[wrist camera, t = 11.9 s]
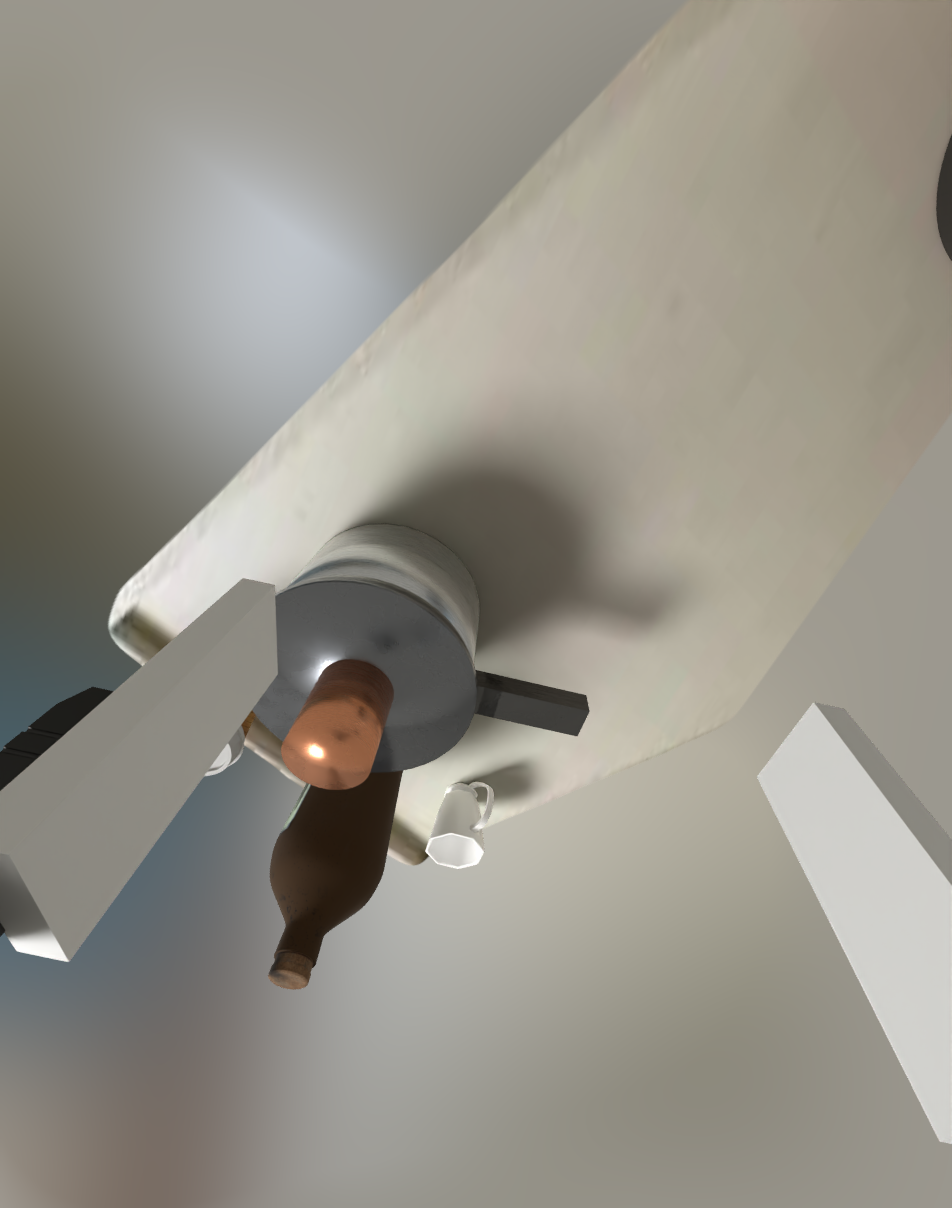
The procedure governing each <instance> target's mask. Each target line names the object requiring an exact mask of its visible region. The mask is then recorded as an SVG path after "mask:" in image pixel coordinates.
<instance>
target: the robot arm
mask: <svg viewBox="0 0 952 1208" xmlns="http://www.w3.org/2000/svg"><path fill="white" fill-rule="evenodd" d="M936 209H937V222H938V229H939V233H940V237H941V240H942V243H943V246H944V248H945V250H946V252H947V254H948V256H949V257H950V259H951V260H952V136H951V138H950V141H949V144H948V147H947V150H946V153H945V156H944V160H943V163H942V167H941V172H940V176H939V183H938V190H937V207H936ZM277 675H278V663H277V634H276V605H275V585H272V584H267V583H263V582H258V581H253V580H249V579H244V578H243V579H241V580H240V581H239V582H238V583H237V584H236V585H235V586H233V587H232V588H231V589H230V590H229V591H228V592H227V593H226V594H224V595H223V596H222V597H221V598H220V599H219V600H218V601H216V602H215V603H214V604H213V605H212V606H211V607H210V608H208V609H207V610H206V611H205V612H204V613H203V614H202V615H200V616H199V617H198V618H197V619H196V620H195V621H194V622H192V623H191V624H190V625H189V626H188V627H187V628H186V629H184V630H183V631H182V632H181V633H180V634H179V635H178V636H177V637H175V638H174V639H173V640H172V641H171V642H170V643H169V644H167V645H166V646H165V647H164V648H163V649H162V650H161V651H159V652H158V653H157V654H156V655H155V656H154V657H153V658H151V659H150V660H149V661H148V662H147V663H146V664H145V665H143V666H142V667H141V668H140V669H139V670H138V671H137V672H135V673H134V674H133V675H132V676H131V677H130V678H129V679H128V680H126V681H125V682H124V683H123V684H122V685H121V686H120V687H118V688H117V689H116V690H115V691H110V690H105V689H100V688H96V687H91V688H89V689H87V690H85V691H83V692H81V693H79V694H77V695H75V696H73V697H71V698H68V699H66V700H64V701H62V702H60V703H58V704H56V705H55V706H54V707H52V708H51V709H50V710H49V711H47V712H46V713H45V714H44V715H42V716H41V717H40V718H39V719H37V720H36V721H35V722H34V723H33V724H31V725H30V726H29V727H28V730H27V731H26V732H21V733H20V734H19V735H17V736H16V737H15V738H14V739H12V740H11V741H10V742H9V743H7V744H6V745H5V746H4V748H3V750H2V751H1V752H0V936H1V935H2V934H3V933H5V934H6V936H7V937H8V939H9V940H10V942H11V943H12V945H13V946H14V948H15V949H16V950H17V951H18V952H23V953H28V954H32V955H38V956H42V957H47V958H52V959H57V960H62V961H66V962H69V961H70V960H71V958H72V957H73V956H74V954H75V953H76V952H77V950H78V949H79V948H80V946H81V945H82V943H83V942H84V941H85V939H86V938H87V937H88V935H89V934H90V932H91V931H92V930H93V928H94V927H95V925H96V924H97V923H98V921H99V920H100V919H101V917H102V916H103V914H104V913H105V912H106V910H107V909H108V908H109V906H110V905H111V903H112V902H113V901H114V899H115V898H116V897H117V895H118V894H119V892H120V891H121V890H122V888H123V887H124V886H125V884H126V883H127V881H128V880H129V879H130V877H131V876H132V875H133V873H134V872H135V870H136V869H137V867H138V866H139V865H140V863H141V862H142V861H143V859H144V858H145V856H146V855H147V854H148V852H149V851H150V850H151V848H152V847H153V845H154V844H155V843H156V841H157V840H158V839H159V837H160V836H161V835H162V833H163V832H164V830H165V829H166V827H167V826H168V825H169V824H170V822H171V821H172V819H173V818H174V817H175V815H176V814H177V812H178V811H179V810H180V808H181V807H182V806H183V804H184V803H185V801H186V800H187V799H188V797H189V796H190V795H191V793H192V792H193V790H194V789H195V788H196V786H197V785H198V783H199V782H200V781H201V779H202V778H203V777H204V775H205V774H206V773H207V771H208V770H209V768H210V767H211V766H212V764H213V763H214V761H215V760H216V759H217V757H218V756H219V755H220V753H221V752H222V750H223V749H224V748H225V746H226V745H227V744H228V742H229V741H230V739H231V738H232V737H233V735H234V734H235V733H236V731H237V730H238V728H239V727H240V726H241V724H242V723H243V722H244V720H245V719H246V717H247V716H248V715H249V713H250V712H251V710H252V709H253V708H254V706H255V705H256V704H257V702H258V701H259V699H260V698H261V697H262V695H263V694H264V693H265V691H266V690H267V688H268V687H269V686H270V684H271V683H272V682H273V680H274V679H275V677H276V676H277ZM757 778H758V780H759V782H760V784H761V786H762V788H763V790H764V792H765V794H766V796H767V798H768V800H769V802H770V804H771V806H772V808H773V810H774V812H775V814H776V816H777V818H778V820H779V822H780V824H781V826H782V828H783V830H784V832H785V834H786V836H787V838H788V840H789V842H790V844H791V846H792V848H793V850H794V852H795V854H796V856H797V858H798V860H799V862H800V864H801V866H802V868H803V870H804V872H805V874H806V876H807V878H808V880H809V882H810V884H811V886H812V888H813V890H814V892H815V894H816V896H817V898H818V900H819V902H820V904H821V906H822V908H823V910H824V912H825V914H826V916H827V918H828V920H829V922H830V924H831V926H832V928H833V930H834V932H835V934H836V936H837V938H838V939H839V942H840V944H841V946H842V948H843V950H844V952H845V954H846V956H847V958H848V959H849V962H850V964H851V966H852V968H853V970H854V972H855V974H856V976H857V978H858V980H859V982H860V984H861V986H862V988H863V990H864V992H865V994H866V996H867V998H868V1000H869V1002H870V1004H871V1006H872V1008H873V1009H874V1012H875V1014H876V1015H877V1018H878V1020H879V1022H880V1023H881V1026H882V1028H883V1030H884V1032H885V1034H886V1036H887V1038H888V1039H889V1041H890V1044H891V1046H892V1048H893V1050H894V1052H895V1054H896V1056H897V1057H898V1059H899V1062H900V1064H901V1066H902V1067H903V1069H904V1071H905V1073H906V1075H907V1077H908V1079H909V1081H910V1083H911V1085H912V1087H913V1089H914V1091H915V1093H916V1095H917V1097H918V1099H919V1101H920V1103H921V1105H922V1107H923V1109H924V1111H925V1113H926V1115H927V1117H928V1119H929V1121H930V1123H931V1125H932V1127H933V1129H934V1131H935V1133H936V1135H937V1137H938V1139H939V1141H940V1142H945V1143H950V1144H952V839H951V838H950V837H949V836H948V834H947V833H946V832H945V831H944V829H943V828H942V827H941V826H940V825H939V824H938V822H937V821H936V820H935V818H934V817H933V816H932V815H931V814H930V812H929V811H928V810H927V809H926V808H925V806H924V805H923V804H922V803H921V801H920V800H919V799H918V798H917V797H916V796H915V794H914V793H913V792H912V790H911V789H910V788H909V787H908V786H907V784H906V783H905V782H904V781H903V780H902V778H901V777H900V776H899V775H898V773H897V772H896V771H895V770H894V768H893V767H892V766H891V765H890V764H889V762H888V761H887V760H886V759H885V758H884V756H883V755H882V754H881V753H880V752H879V750H878V749H877V748H876V747H875V745H874V744H873V743H872V742H871V740H870V739H869V738H868V737H867V736H866V734H865V733H864V732H863V731H862V729H861V728H860V727H859V726H858V725H857V723H856V722H855V721H854V720H853V718H852V717H851V716H850V715H849V714H848V713H847V711H846V710H845V709H843V708H838V707H834V706H829V705H824V704H820V703H815V702H814V703H813V704H812V705H811V706H810V708H809V709H808V710H807V712H806V713H805V714H804V716H803V717H802V718H801V720H800V721H799V722H798V723H797V725H796V726H795V728H794V729H793V730H792V731H791V733H790V734H789V735H788V737H787V738H786V739H785V741H784V742H783V743H782V745H781V746H780V747H779V749H778V750H777V751H776V752H775V754H774V755H773V756H772V758H771V759H770V760H769V762H768V763H767V764H766V766H765V767H764V768H763V770H762V771H761V772H760V774H759V775H758V776H757Z"/></svg>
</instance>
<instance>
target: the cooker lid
mask: <svg viewBox="0 0 952 1208" xmlns="http://www.w3.org/2000/svg"><path fill="white" fill-rule="evenodd" d="M275 605H276V634H277V663H278V675H277V676H276V677H275V679H274V680H273V682H272V683H271V684H270V686H269V687H268V688H267V690H266V691H265V693H264V694H263V695H262V697H261V698H260V699H259V701H258V702H257V704H256V705H255V706H254V708H253V709H252V711H253V712H254V713H255V714H256V716H257V717H258V718H259V720H260V721H261V722H262V723H263V724H264V725H265V726H266V727H267V728H268V729H269V730H270V731H271V732H272V733H273V734H274V735H276V736H277V737H278V738H279V739H280V740H282V741H283V744H282V749H281V753H282V758H283V760H284V763H285V764H286V766H287V767H288V769H289V770H290V771H291V772H292V773H293V774H294V775H295V776H297V777H298V778H300V779H301V780H303V781H304V782H306V783H308V784H311V785H313V786H316V787H319V788H323V789H330V790H343V789H349V788H353V787H355V786H358V785H359V784H361V783H363V782H364V781H365V780H366V779H367V777H368V776H369V774H370V772H372V773H379V772H395V771H402V770H407V769H411V768H415V767H418V766H421V765H424V764H426V763H429V762H431V761H433V760H435V759H437V758H438V757H440V756H442V755H443V754H445V753H446V752H448V751H449V750H450V749H451V748H452V747H453V746H455V745H456V744H457V742H458V741H459V740H460V739H461V738H462V737H463V735H464V734H465V732H466V730H467V729H468V727H469V725H470V723H471V720H472V718H473V715H474V711H475V706H476V699H477V677H476V670H475V667H474V663H473V660H472V657H471V655H470V653H469V651H468V649H467V647H466V645H465V643H464V642H463V640H462V639H461V637H460V636H459V634H458V633H457V632H456V630H455V629H454V628H453V627H452V626H451V625H450V623H449V622H448V621H447V620H446V619H445V618H443V617H442V616H441V615H440V614H439V613H438V612H437V611H436V610H434V609H433V608H431V607H430V606H429V605H427V604H426V603H425V602H423V601H422V600H420V599H418V598H416V597H414V596H413V595H411V594H409V593H407V592H405V591H402V590H400V589H398V588H395V587H393V586H390V585H387V584H383V583H380V582H377V581H373V580H367V579H361V578H354V577H324V578H317V579H312V580H307V581H304V582H301V583H298V584H295V585H292V586H290V587H288V588H286V589H284V590H282V591H280V592H278V593H277V594H275Z"/></svg>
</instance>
